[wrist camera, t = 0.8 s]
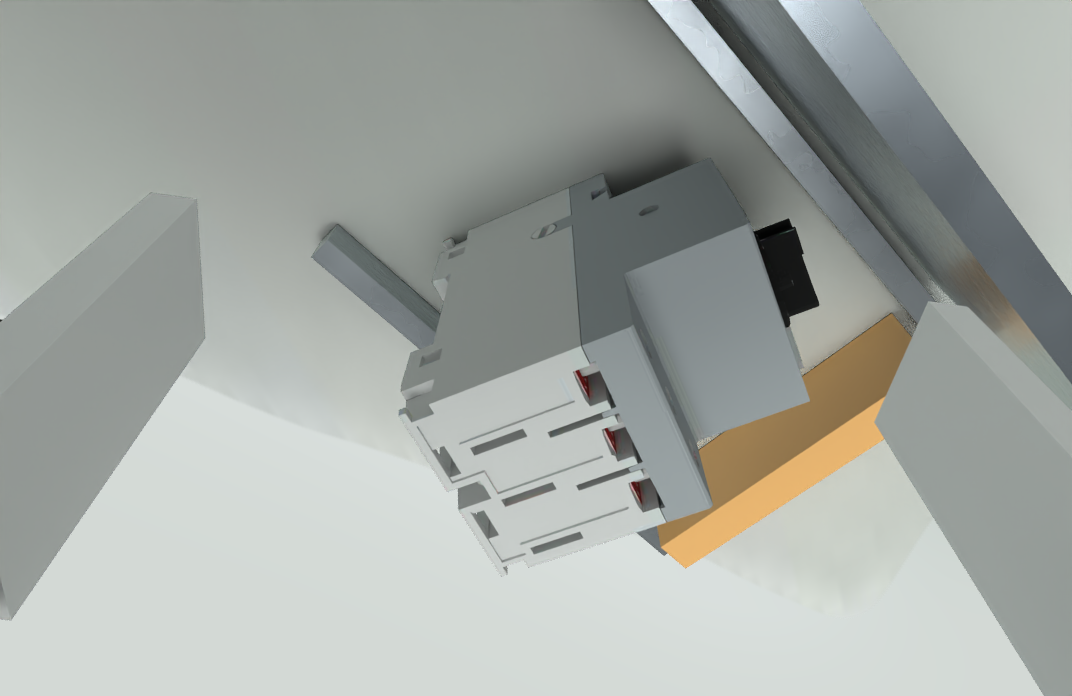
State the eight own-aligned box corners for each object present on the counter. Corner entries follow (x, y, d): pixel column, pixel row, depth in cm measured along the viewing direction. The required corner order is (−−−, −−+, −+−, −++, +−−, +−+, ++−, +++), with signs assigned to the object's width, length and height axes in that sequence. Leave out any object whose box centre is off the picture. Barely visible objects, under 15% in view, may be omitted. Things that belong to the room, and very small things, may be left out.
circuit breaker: (779, 261, 39) (896, 447, 26) (510, 365, 42) (494, 579, 29) (731, 117, 36) (838, 246, 23) (443, 241, 39) (391, 419, 26)
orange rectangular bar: (649, 484, 46) (660, 547, 41) (891, 313, 40) (933, 364, 36) (672, 504, 46) (685, 568, 42) (913, 338, 41) (956, 391, 37)
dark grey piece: (321, 240, 39) (168, 477, 23) (661, -112, 32) (775, -116, 16) (659, 531, 47) (715, 847, 32) (988, 307, 40) (1272, 573, 24)
